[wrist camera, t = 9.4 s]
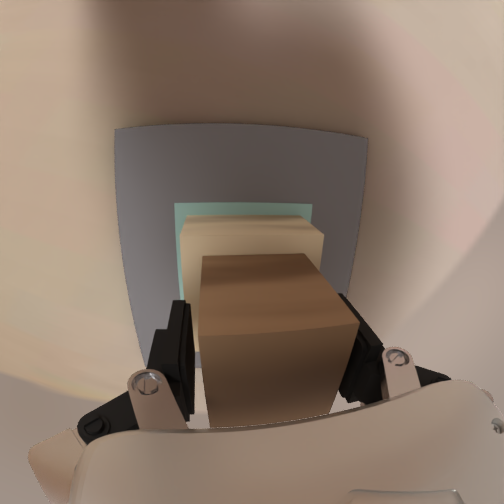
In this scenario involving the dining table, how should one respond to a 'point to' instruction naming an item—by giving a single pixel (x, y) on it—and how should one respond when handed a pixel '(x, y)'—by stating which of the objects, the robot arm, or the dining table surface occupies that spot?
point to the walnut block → (270, 339)
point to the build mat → (228, 198)
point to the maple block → (240, 245)
